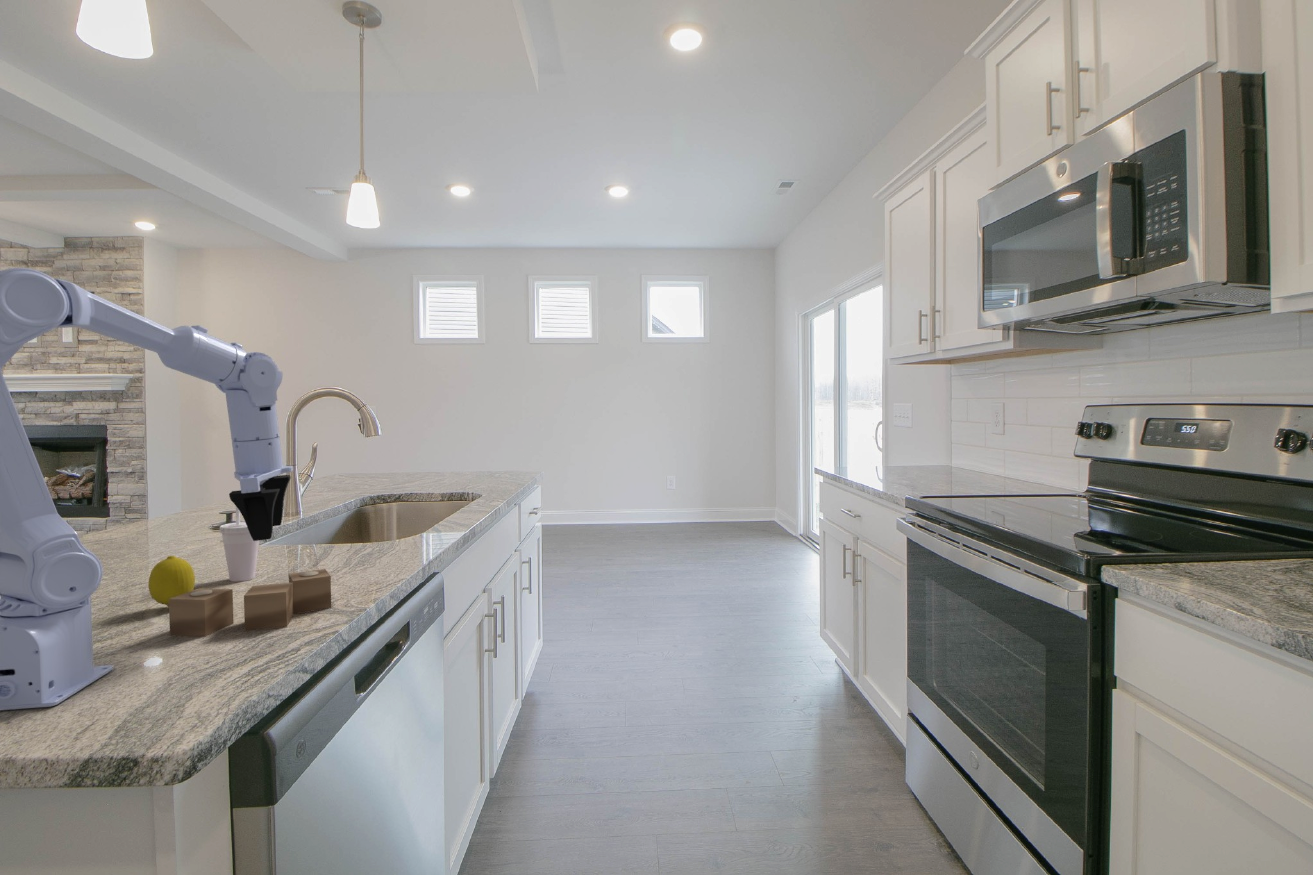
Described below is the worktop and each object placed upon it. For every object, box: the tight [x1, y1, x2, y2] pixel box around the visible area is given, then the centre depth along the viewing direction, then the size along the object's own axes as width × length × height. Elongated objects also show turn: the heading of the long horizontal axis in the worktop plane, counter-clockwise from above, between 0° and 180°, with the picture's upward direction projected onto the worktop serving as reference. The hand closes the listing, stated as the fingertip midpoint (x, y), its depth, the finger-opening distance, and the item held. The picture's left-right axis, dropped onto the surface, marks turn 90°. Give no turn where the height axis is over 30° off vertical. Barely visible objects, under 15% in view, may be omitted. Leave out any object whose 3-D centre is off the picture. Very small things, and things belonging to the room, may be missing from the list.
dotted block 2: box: [288, 568, 332, 615], centre depth 95 cm, size 5×5×5 cm
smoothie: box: [218, 506, 260, 583], centre depth 110 cm, size 6×6×14 cm
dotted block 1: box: [168, 587, 234, 638], centre depth 85 cm, size 5×5×5 cm
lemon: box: [147, 555, 196, 608], centre depth 94 cm, size 6×6×8 cm
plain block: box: [243, 582, 294, 632], centre depth 88 cm, size 5×5×5 cm
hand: (267, 532), depth 90 cm, fingers open, 7 cm apart
